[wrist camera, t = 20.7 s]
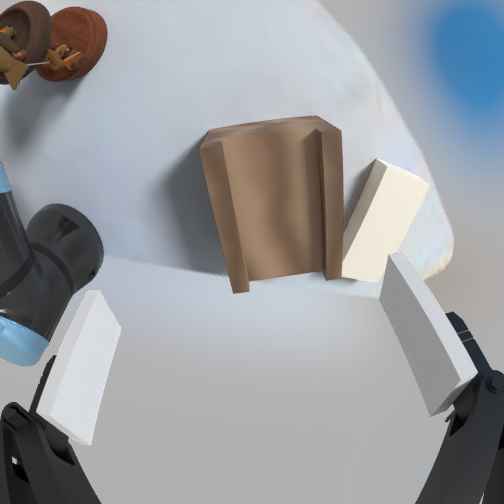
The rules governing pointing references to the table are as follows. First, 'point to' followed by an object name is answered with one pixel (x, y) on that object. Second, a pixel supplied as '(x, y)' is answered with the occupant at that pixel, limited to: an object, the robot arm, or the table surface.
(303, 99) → the table surface
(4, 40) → the music box
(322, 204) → the brown channel-shaped piece
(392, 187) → the thick cream rectangular block
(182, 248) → the table surface
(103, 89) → the table surface
